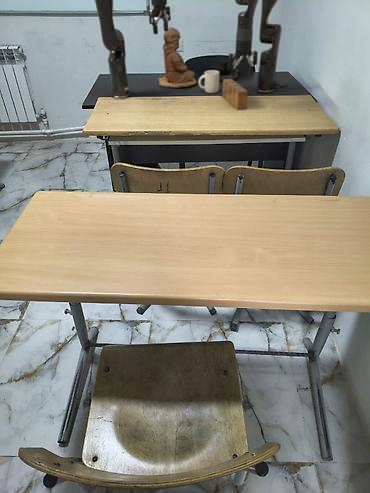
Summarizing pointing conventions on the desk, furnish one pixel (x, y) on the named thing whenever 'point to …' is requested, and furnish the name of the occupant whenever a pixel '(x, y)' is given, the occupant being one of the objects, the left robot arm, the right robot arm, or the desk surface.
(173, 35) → the sculpture
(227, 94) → the bar
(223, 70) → the abstract sculpture
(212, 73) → the mug
